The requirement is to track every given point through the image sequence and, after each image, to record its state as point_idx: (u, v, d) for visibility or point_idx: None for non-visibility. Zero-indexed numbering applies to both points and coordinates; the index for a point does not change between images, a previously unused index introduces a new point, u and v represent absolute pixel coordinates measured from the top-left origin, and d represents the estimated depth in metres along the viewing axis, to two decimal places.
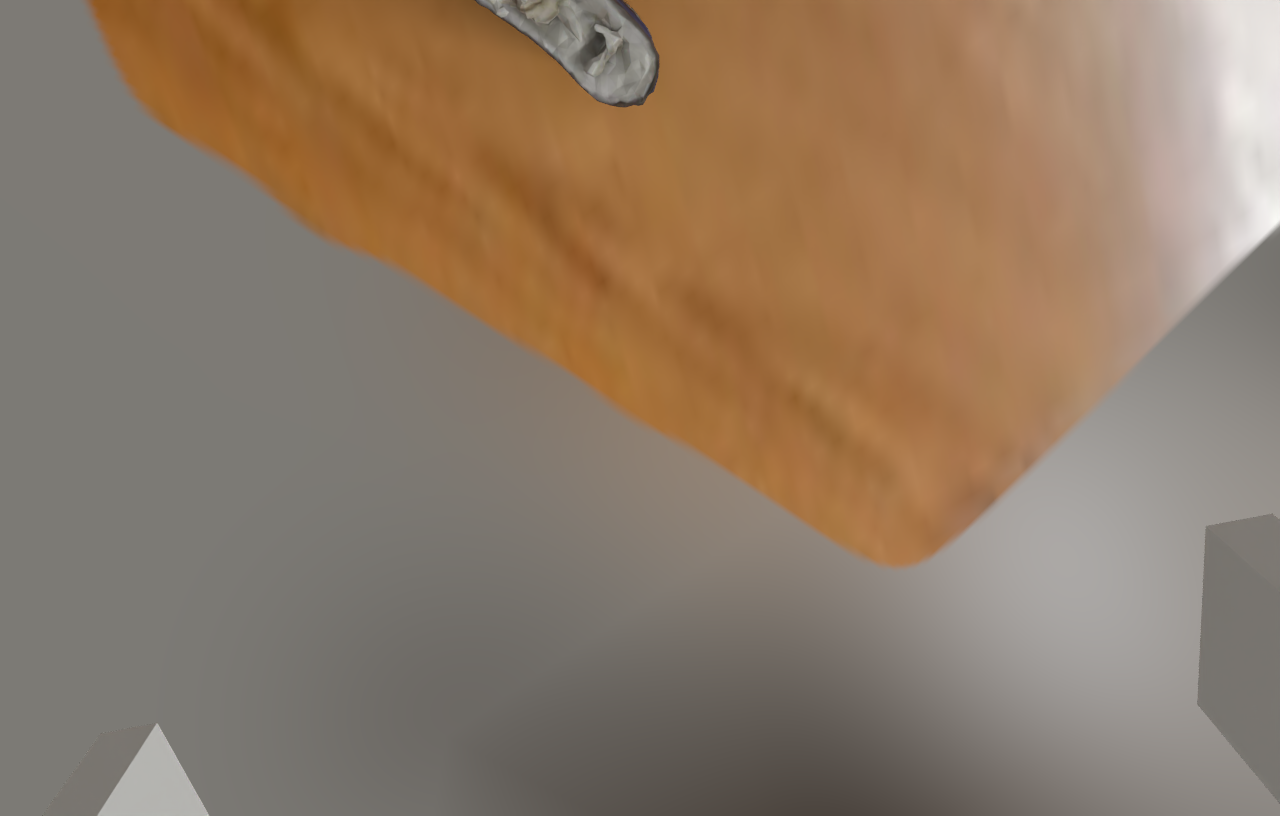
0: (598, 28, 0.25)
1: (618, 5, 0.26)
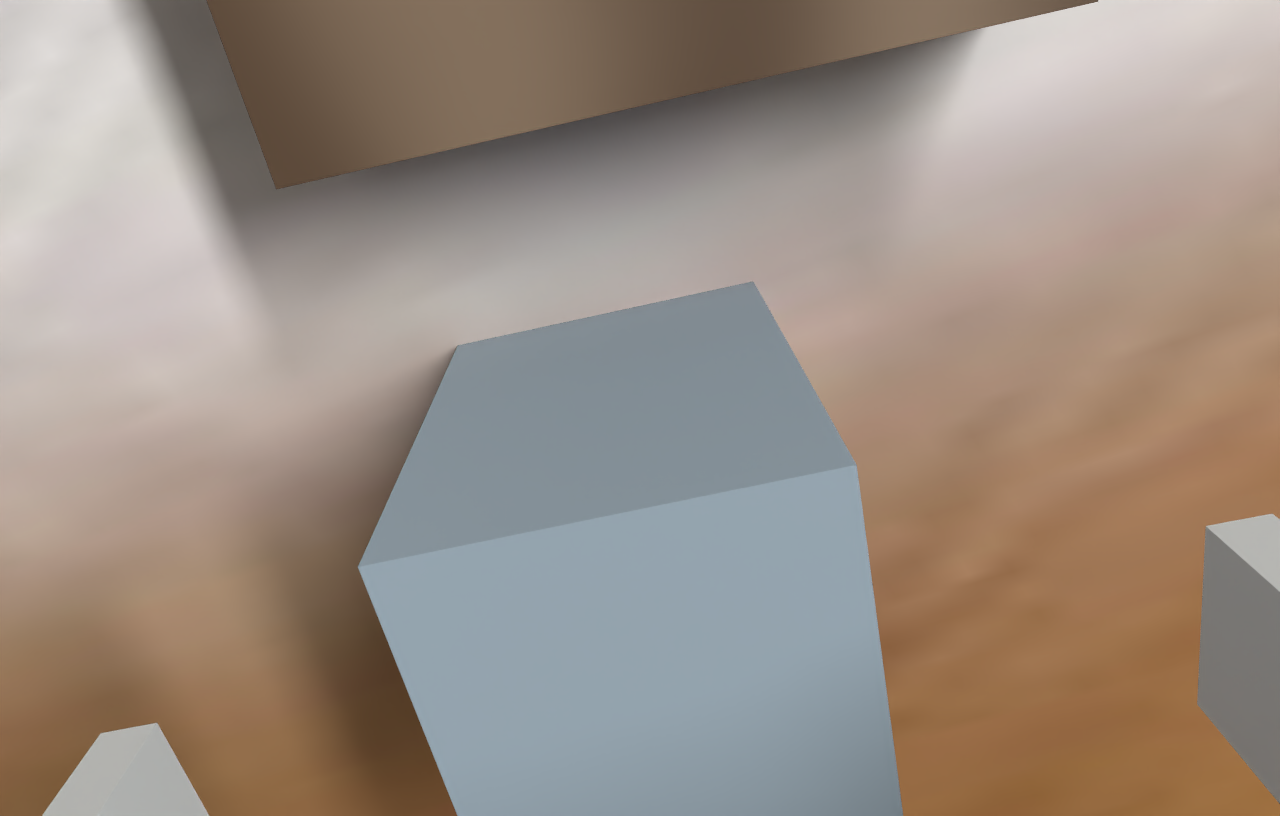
0: None
1: None
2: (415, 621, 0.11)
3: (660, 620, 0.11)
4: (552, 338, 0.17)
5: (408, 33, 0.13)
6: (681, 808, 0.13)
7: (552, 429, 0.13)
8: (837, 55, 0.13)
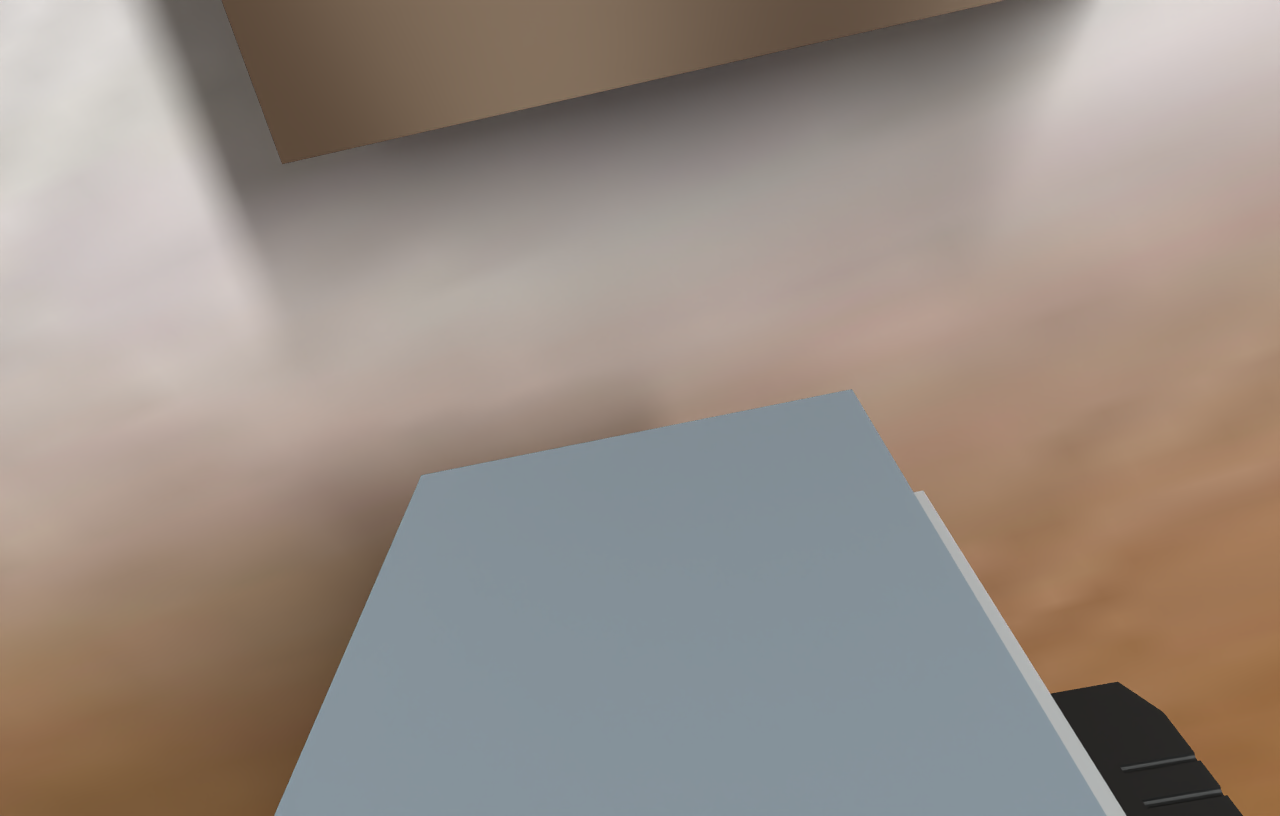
0: None
1: None
2: None
3: None
4: (556, 477, 0.12)
5: None
6: None
7: (549, 710, 0.08)
8: (953, 5, 0.11)
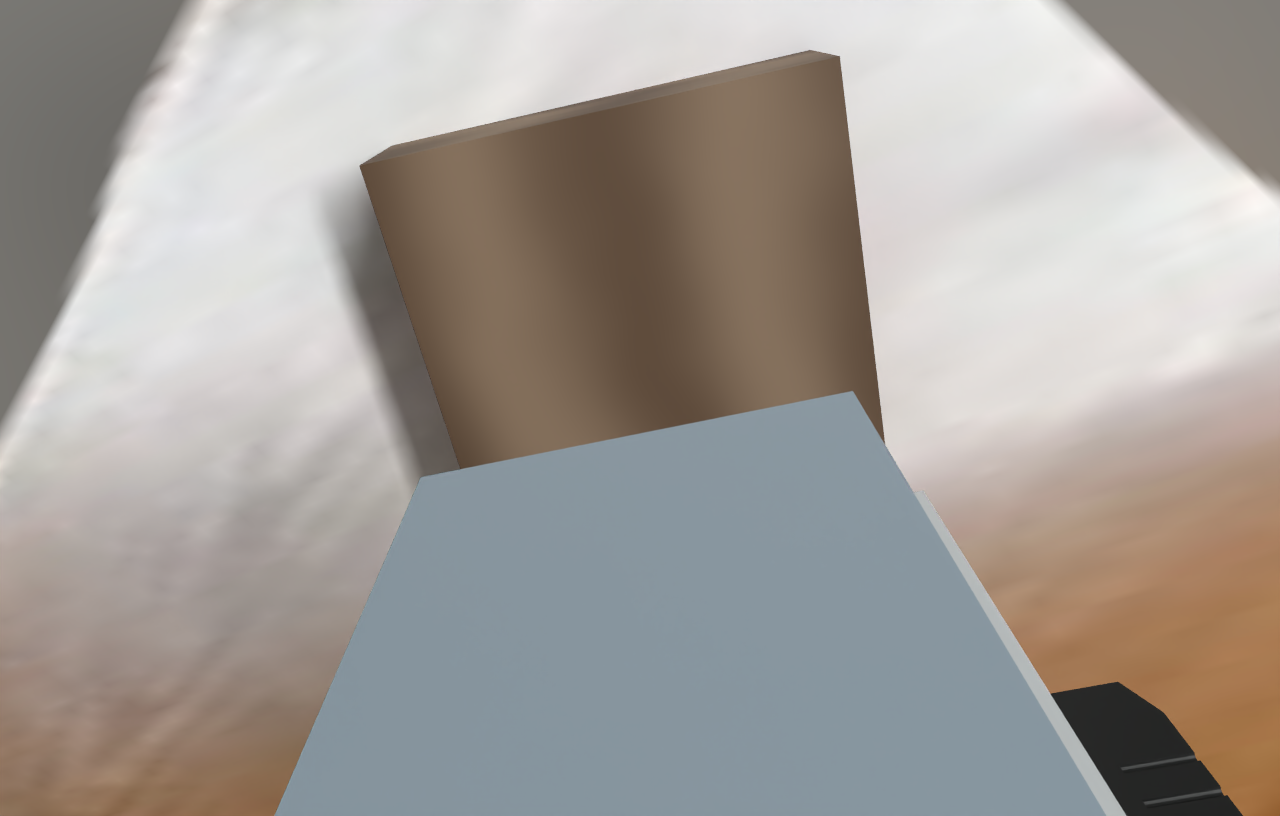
0: None
1: None
2: None
3: None
4: (556, 479, 0.12)
5: None
6: None
7: (548, 714, 0.08)
8: None
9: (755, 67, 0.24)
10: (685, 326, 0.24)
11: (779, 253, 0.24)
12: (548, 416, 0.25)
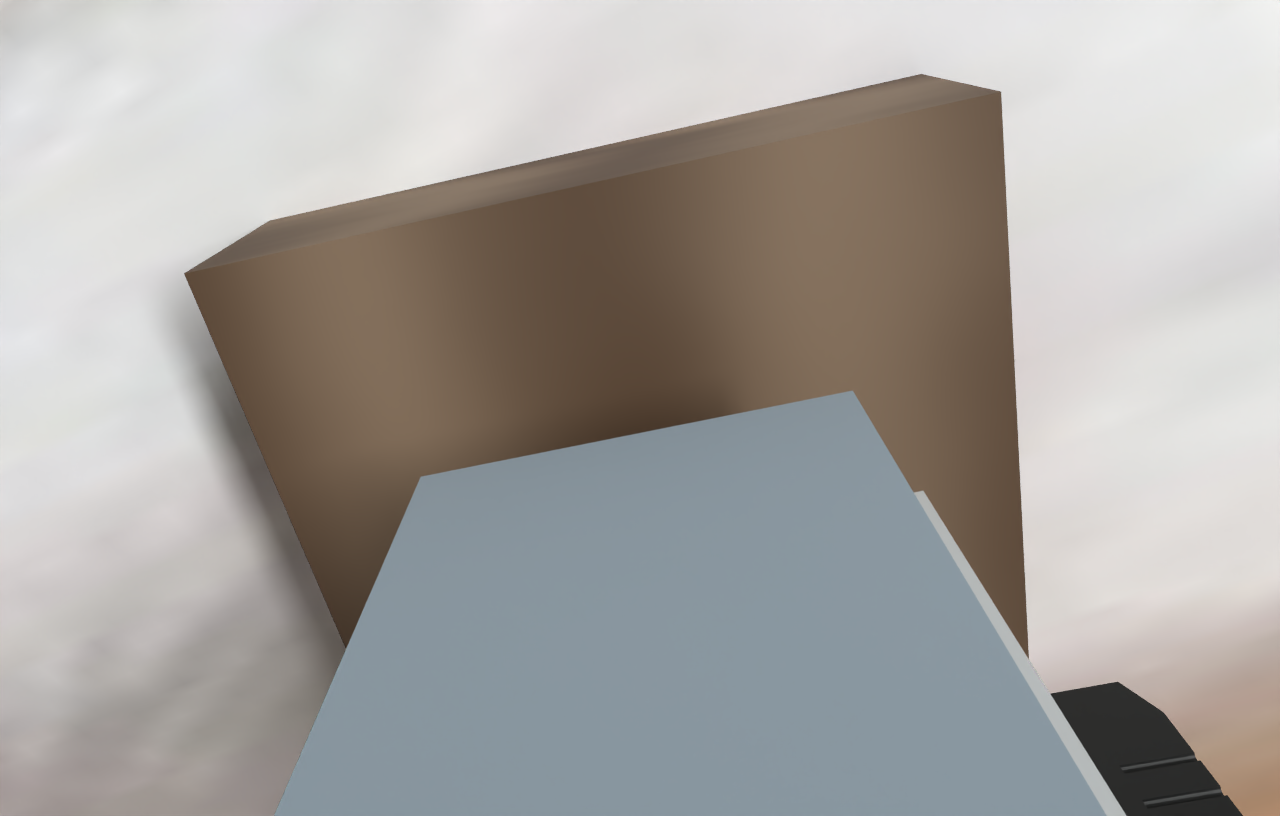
0: None
1: None
2: None
3: None
4: (556, 478, 0.12)
5: None
6: None
7: (548, 714, 0.08)
8: None
9: (841, 104, 0.15)
10: None
11: (881, 407, 0.15)
12: None
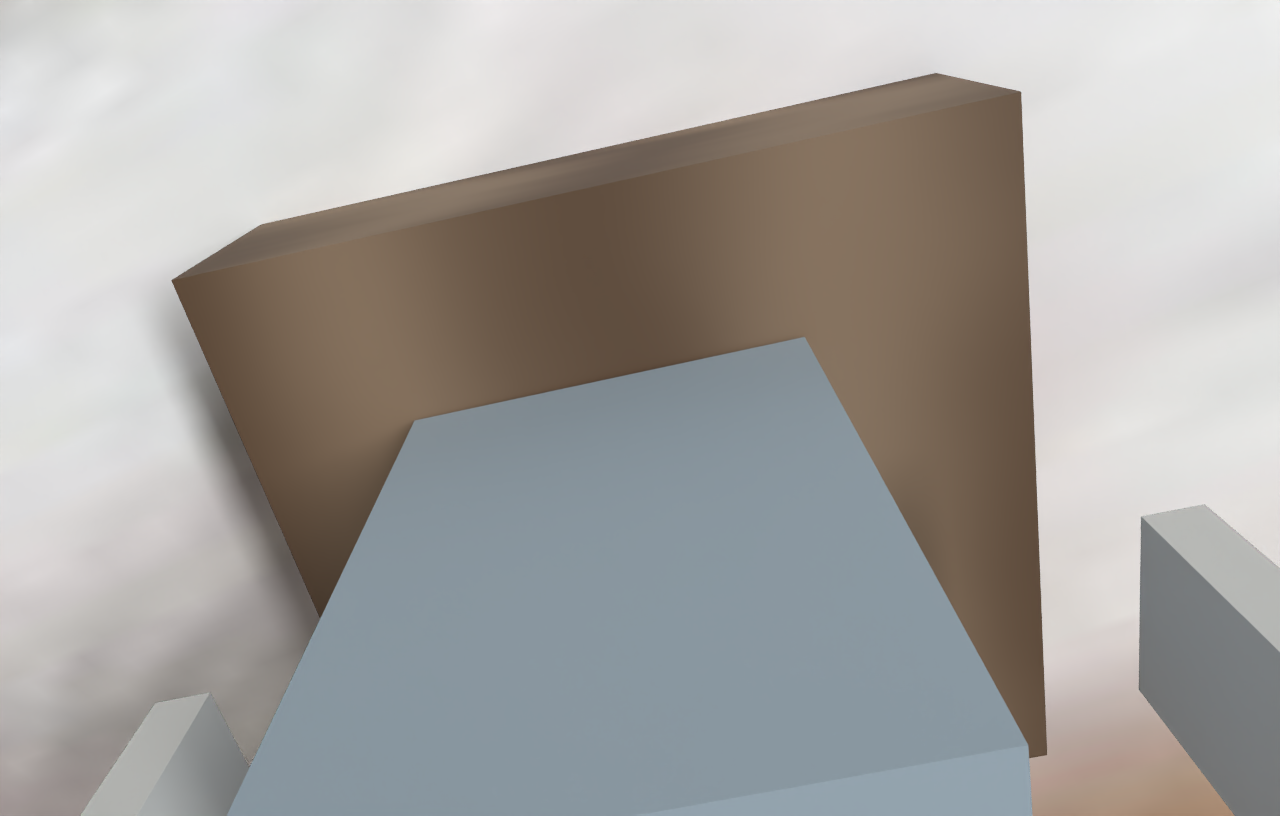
0: None
1: None
2: None
3: None
4: (536, 417, 0.13)
5: None
6: None
7: (524, 597, 0.09)
8: None
9: (853, 104, 0.14)
10: None
11: (894, 418, 0.14)
12: None
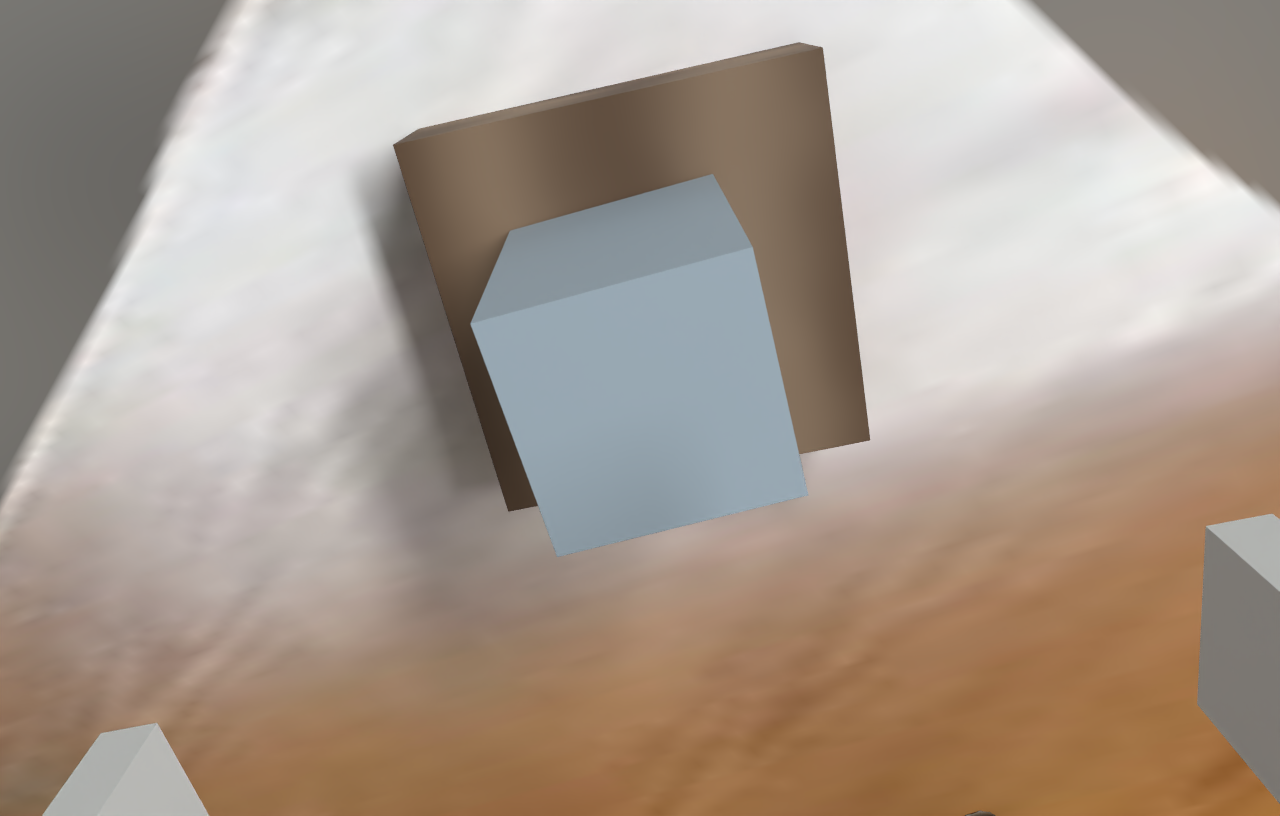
0: None
1: None
2: (504, 357, 0.19)
3: (646, 352, 0.19)
4: (575, 219, 0.25)
5: None
6: (667, 481, 0.20)
7: (577, 258, 0.21)
8: None
9: (748, 57, 0.26)
10: None
11: (769, 225, 0.26)
12: None
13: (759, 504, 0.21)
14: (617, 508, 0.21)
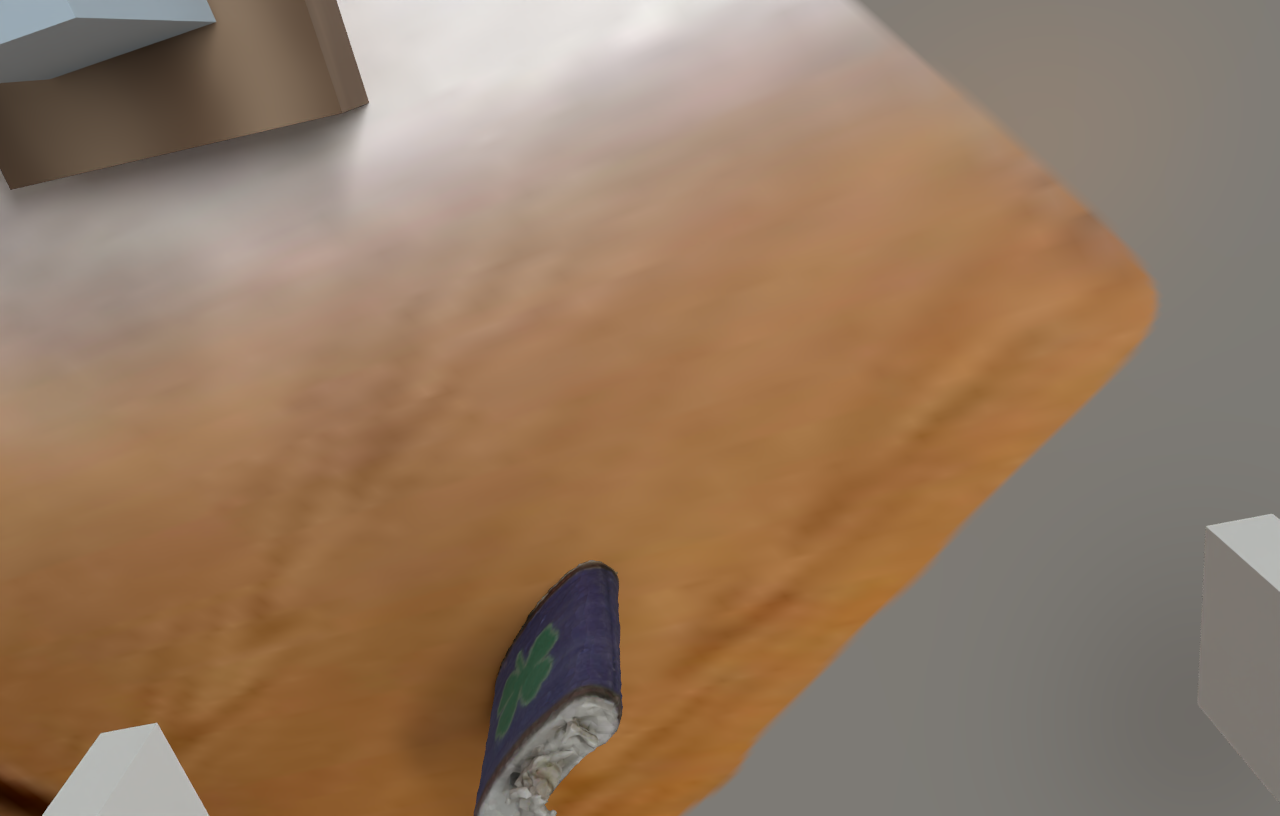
0: (564, 741, 0.34)
1: (549, 716, 0.35)
2: None
3: None
4: None
5: (56, 126, 0.31)
6: None
7: None
8: (237, 135, 0.31)
9: None
10: None
11: None
12: None
13: (36, 32, 0.22)
14: None
